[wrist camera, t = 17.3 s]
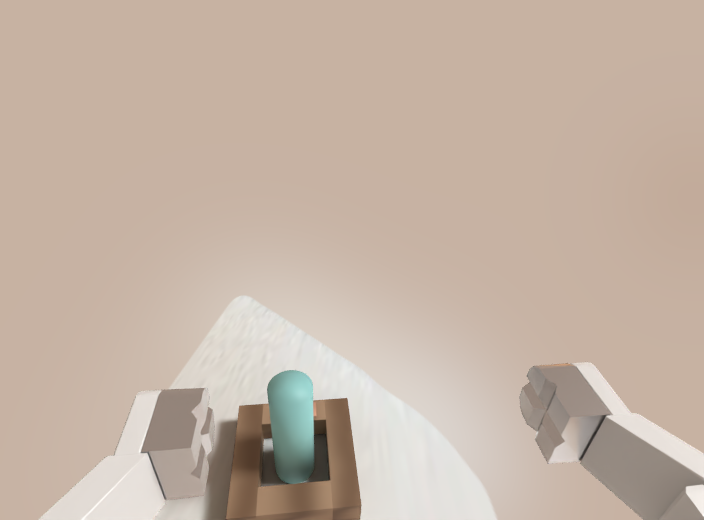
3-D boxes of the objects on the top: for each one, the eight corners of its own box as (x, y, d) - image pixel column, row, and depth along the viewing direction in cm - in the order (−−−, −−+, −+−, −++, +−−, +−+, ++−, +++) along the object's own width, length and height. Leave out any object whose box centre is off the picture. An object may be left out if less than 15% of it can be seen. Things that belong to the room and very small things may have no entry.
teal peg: (274, 485, 43) (266, 407, 37) (276, 449, 46) (268, 371, 40) (315, 482, 44) (313, 404, 37) (313, 446, 47) (311, 368, 40)
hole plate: (229, 533, 39) (225, 517, 38) (241, 420, 49) (239, 404, 48) (360, 519, 41) (361, 504, 39) (346, 412, 51) (347, 396, 49)
